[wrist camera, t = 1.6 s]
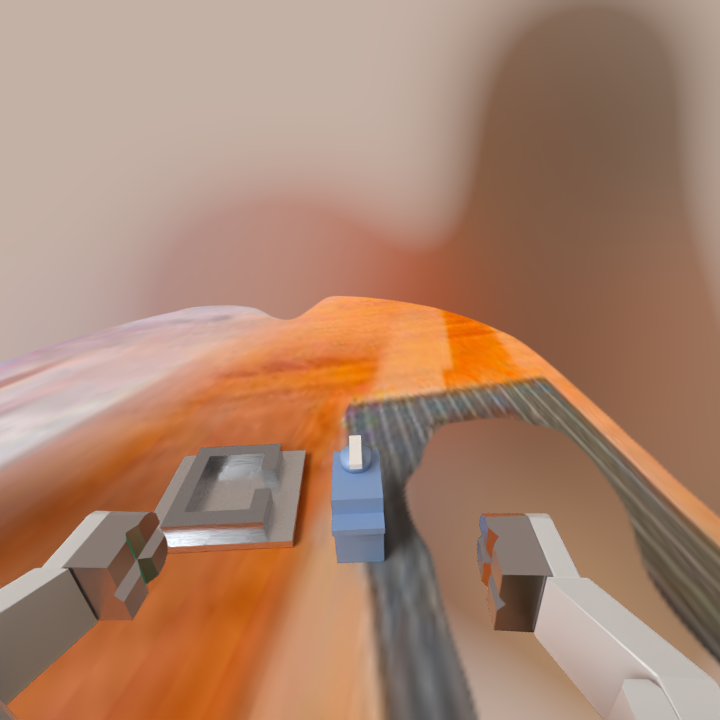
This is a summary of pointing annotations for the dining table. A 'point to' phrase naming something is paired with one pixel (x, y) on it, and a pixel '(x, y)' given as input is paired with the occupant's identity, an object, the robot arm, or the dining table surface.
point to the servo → (357, 504)
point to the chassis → (233, 499)
